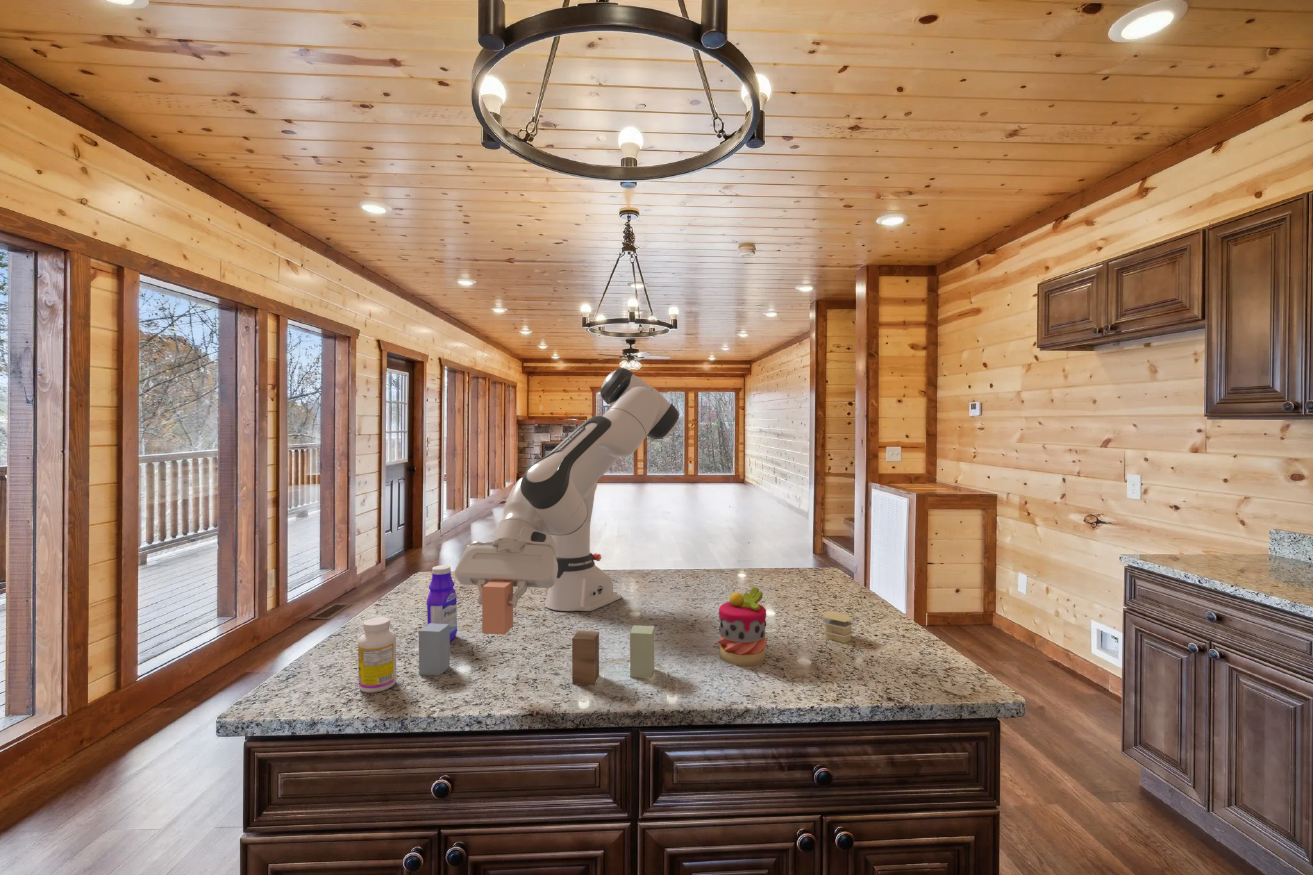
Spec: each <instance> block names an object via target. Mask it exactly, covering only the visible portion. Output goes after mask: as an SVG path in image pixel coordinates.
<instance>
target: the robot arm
mask: <svg viewBox="0 0 1313 875" xmlns="http://www.w3.org/2000/svg"><path fill="white" fill-rule="evenodd" d="M599 391H600V397H601V398H602V400H603V401H604V402H605V403H606V405H610V407H609V409H608V410H607V411H606V412H605V413H604V414H603V415H595V416H593V417H590V418H589V419H586V420H585V421H584V422H583V423H582V424H580V425H579V426H577V427H576V428H575V429H574V430H573V431H572V432H571V433H570V434H568V436H567V437H565V438H564V439H563V440H562V441H561V442H560V443H559V444H558V445H556V446H555V448H553V449H552V450H551V451H550V452H548V453H547V454H546V455H545V456H543V457H542V458H540V459H538V460H537V461H535V462H534V463H532V464H531V465H530V466H529V467H528V468H526V470H525V472H524V473H523V475H522V477H521V478H519V479H518V480H517V481H516V482H515V484H514V485H513V487H512V488H511V490H510V492H509V495H508V496H507V499H506V502H505V504H504V507H503V517H502V519H501V520H500V522H499V523H498V526H497V529H496V532H495V535H494V538H493V541H473V542H471V543H470V544H468V545H466V546H465V547H464V550H463V553H462V556H461V557H460V559H459V561H458V563H457V565H456V566H455V570H454V576H455V578H456V580H457V581H458V583H459V584H460V585H464V586H465V585H466V586H477V589H478V592H479V594H478V597H477V603H478V604H479V605H480V606H482V586H484V585H485V584H487V583H488V582H490V581H491V580H497V581H513V588H514V587H515V588H517V589H515V591H513V594H509V596H508V599H507V604H508V606H513V607H517V606H518V602H519V599H521V598H522V597H523V595H525V593H526V592H527V590H528V588H533V589H534V588H535V589H537V588H539V589H547V594H546V598H545V602H544V605H545V607H546V608H547V609H550V610H554V611H561V612H574V611H575V612H576V611H578V612H579V611H580V612H581V611H582V612H593V611H595V610H597V609H598V608H601V607H604V606H607V605H608V604H611V603H614V602H615V601H616V602H617V601H618V600H620V599H622V594H621V593H620V592H619V591H617V590H615V589H614V583H613V580H612V577H611V576H610V575H609V574H608V573H607V572H605V571H604V570H602V569H601V568H600V567H598V566H597V565H596V563H595V561H596V562H600V561H601V559H602V555H601V553H597V552H595V553H594V554H593V553H592V552H591V519H592V516H593V509H594V501H595V494H596V493H595V492H596V490H597V487H598V480H600V479H601V478H602V477H603V476H604V475H605V474H606V473H607V472H608V471H609V470H610V469H612V467H613V466H614V464H615V463H616V462H617V461H618V460H619V458H626V457H629V456H631V455H632V454H634V453H635V452H636V451H637V450H638V448H640V446H641V445H642V443H643V442H644V440H645V439H646V438H647V437H648V438H650V439H653V440H662V439H664V438H665V437H667V436H669V435H671V433H672V432H673V431H674V430H675V429H676V426H677V424H678V422H679V421H678V420H679V419H680V413H679V411H678V409H677V407H676V406H675V405H674V404H673V403H670V402H669V401H668V400H667V399H666V397H665V396H663V394H661V392H660V391H658V390H657V389H656V388H655V387H653V386H652V385H650V384H648V383H647V382H646V381H644V380H643V379H642V378H640V377H639V376H637V375H635V374H634V372H633V371H631V370H629V369H628V368H626V367H620V368H617V369H615V370H614V371H611V372H610V373H609V374H607V376H606V377H605V378H604V380H603V382H602V385H601V389H600V390H599Z"/></svg>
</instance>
